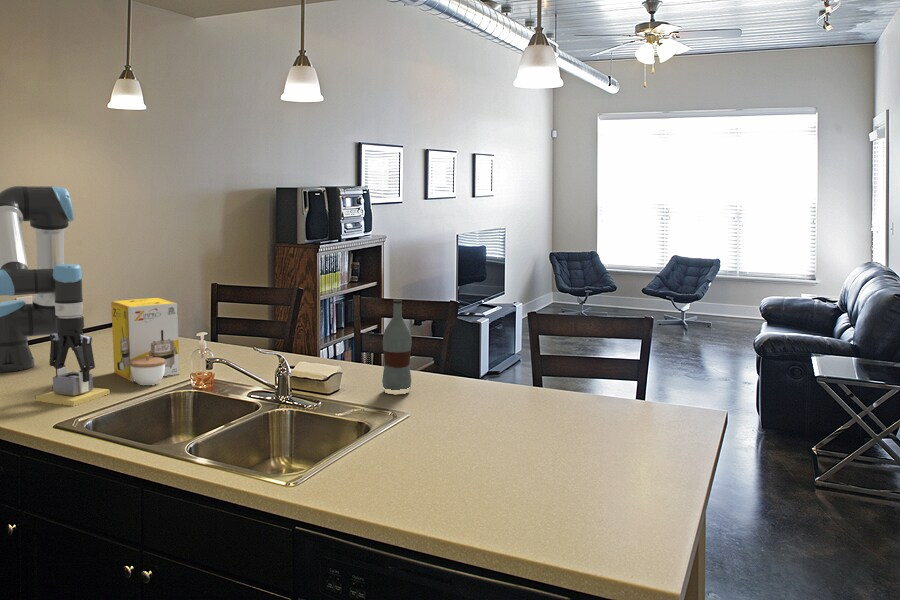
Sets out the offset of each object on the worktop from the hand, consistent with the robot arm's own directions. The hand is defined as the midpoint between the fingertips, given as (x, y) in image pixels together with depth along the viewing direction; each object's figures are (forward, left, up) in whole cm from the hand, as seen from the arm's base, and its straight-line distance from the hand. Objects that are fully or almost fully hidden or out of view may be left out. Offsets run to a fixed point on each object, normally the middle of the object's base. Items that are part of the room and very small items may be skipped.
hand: (73, 390), depth 224 cm
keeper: (0, 0, -2) cm, 2 cm away
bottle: (+88, +43, -2) cm, 98 cm away
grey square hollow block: (0, 0, 0) cm, 0 cm away
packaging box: (-1, +33, -2) cm, 33 cm away
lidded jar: (+9, +22, -2) cm, 24 cm away
